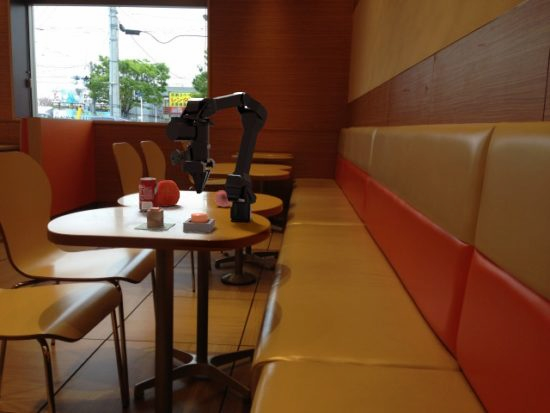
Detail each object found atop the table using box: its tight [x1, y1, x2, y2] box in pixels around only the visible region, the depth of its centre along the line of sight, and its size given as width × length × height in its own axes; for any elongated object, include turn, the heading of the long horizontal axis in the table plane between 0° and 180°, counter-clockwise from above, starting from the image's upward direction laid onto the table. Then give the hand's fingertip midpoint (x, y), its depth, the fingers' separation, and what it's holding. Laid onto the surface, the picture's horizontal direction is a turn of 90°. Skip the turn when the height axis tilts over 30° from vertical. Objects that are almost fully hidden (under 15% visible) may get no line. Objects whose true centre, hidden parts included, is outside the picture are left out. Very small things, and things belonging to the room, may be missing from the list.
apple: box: [157, 179, 181, 207], centre depth 179 cm, size 10×10×10 cm
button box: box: [182, 217, 216, 233], centre depth 138 cm, size 8×8×2 cm
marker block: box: [146, 207, 165, 227], centre depth 140 cm, size 4×4×6 cm
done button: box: [190, 212, 209, 223], centre depth 138 cm, size 5×5×3 cm
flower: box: [213, 189, 232, 208], centre depth 182 cm, size 8×8×6 cm
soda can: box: [138, 177, 159, 212], centre depth 166 cm, size 7×7×12 cm
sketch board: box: [133, 222, 176, 231], centre depth 140 cm, size 10×9×1 cm
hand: (199, 193), depth 137 cm, fingers closed
